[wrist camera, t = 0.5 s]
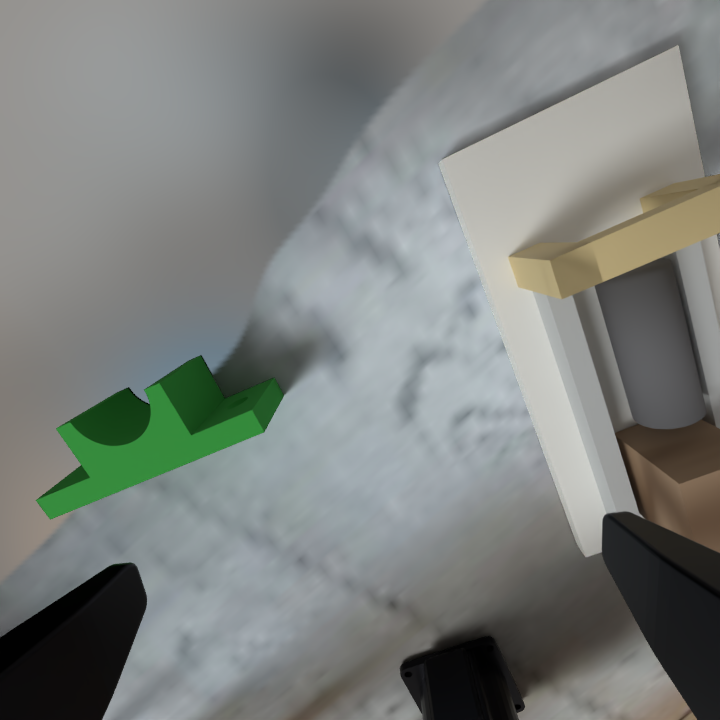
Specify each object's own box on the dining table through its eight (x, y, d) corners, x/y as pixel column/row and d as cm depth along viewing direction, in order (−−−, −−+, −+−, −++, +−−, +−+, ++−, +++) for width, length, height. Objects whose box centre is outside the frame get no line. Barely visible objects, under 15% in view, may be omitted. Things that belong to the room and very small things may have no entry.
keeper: (700, 488, 21) (786, 550, 17) (636, 510, 22) (704, 576, 17) (680, 408, 20) (767, 453, 16) (612, 433, 21) (679, 483, 16)
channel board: (752, 484, 22) (865, 555, 17) (576, 544, 24) (634, 626, 19) (660, 56, 17) (788, -25, 12) (438, 163, 18) (467, 132, 13)
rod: (662, 390, 20) (723, 406, 18) (618, 416, 20) (672, 436, 17) (628, 260, 19) (690, 255, 16) (579, 286, 18) (633, 285, 16)
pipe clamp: (252, 331, 21) (222, 354, 16) (285, 394, 22) (265, 432, 17) (70, 412, 22) (-3, 454, 18) (108, 468, 23) (48, 522, 18)
